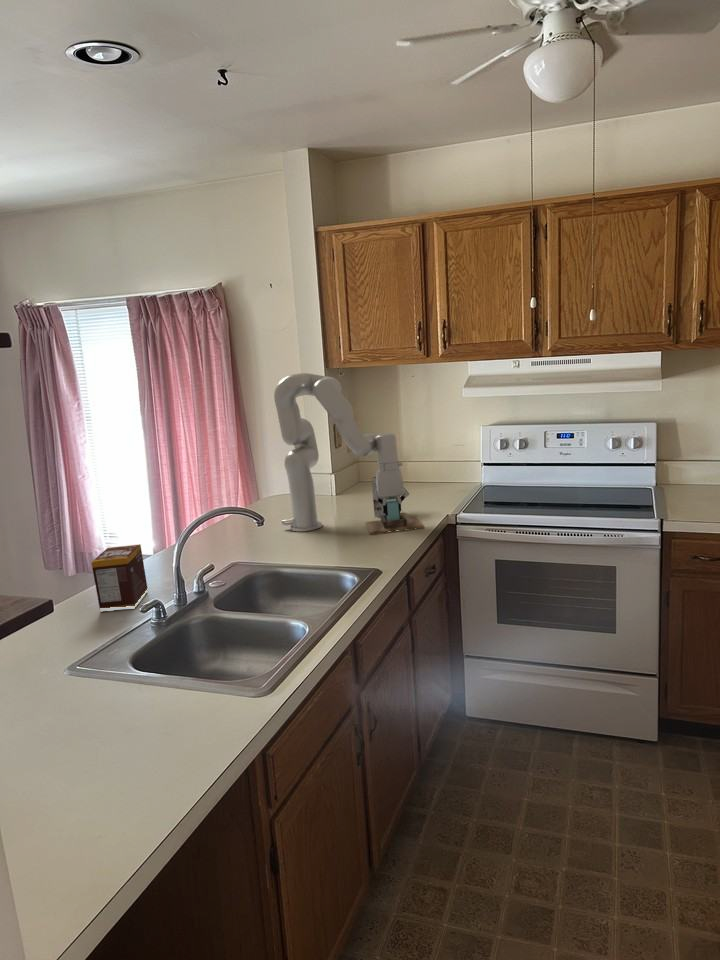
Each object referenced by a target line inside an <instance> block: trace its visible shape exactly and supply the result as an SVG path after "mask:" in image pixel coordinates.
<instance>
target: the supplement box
mask: <svg viewBox="0 0 720 960" xmlns="http://www.w3.org/2000/svg"><path fill="white" fill-rule="evenodd" d="M141 545H142V544H131V545H130V544H129V545H121V546H113V547H112V546H110V547H109V546H108V547H107V548H105V549H104V550H103V551H102V552H101V553H100V554H99V555H97V556H96V557H95V558H94V560H93V559H92V561H91V568H92V573H93V578H94V584H95V589H96V597H97V600H98V606H99V609H100V608H110V607H126V606H135V604H136V603H137V602H138V600H139V599H140V598H141V596H142V595H143V594H144V593H145V591H146V590H147V588H148V582H147V577H146V571H145V565H144V558H143V551H142V546H141Z"/></svg>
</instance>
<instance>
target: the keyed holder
mask: <svg viewBox="0 0 720 960" xmlns="http://www.w3.org/2000/svg"><path fill="white" fill-rule="evenodd" d="M379 518H380V519H378V520H371V521H365V526H366V529H367V528H368V529H367V531H368V534H369V535H370V534H372V535H378V534H377V533H381V534H383V533H382V532H388V531H396V530H405V529H414V530H416V529H415V528H422V529H424V525H423V522H422V521H420V519H419V518H418V517H417V515H412V516H405V515H404V514H403V513H402V512H400V514H399V518H400V520H392V521H387V516H386V515H380V517H379Z"/></svg>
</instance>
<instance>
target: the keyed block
mask: <svg viewBox="0 0 720 960" xmlns="http://www.w3.org/2000/svg"><path fill="white" fill-rule="evenodd" d="M386 505H387V511H388V516H387V521H392V520H400V518H399V507H398V502H397V501H396V499H392V500H386Z"/></svg>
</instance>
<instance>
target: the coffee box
mask: <svg viewBox="0 0 720 960" xmlns="http://www.w3.org/2000/svg"><path fill="white" fill-rule="evenodd" d="M370 479H371V490H372V492H371V493H372V496H373V495H374V493H375V491H376V476H373V477H371V478H370ZM377 497H378V498H380V499H382V498H381V497H379V496H377ZM392 499H396V501H397V498H396V496H394V497H386V500H392ZM372 502H373V512H374V517H375V518H376V517H377V518H381V517H380V515H385V513H384V512H383V505H382V504H381V503H380V502H379V501H377V500H375V499H373V498H372Z"/></svg>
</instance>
